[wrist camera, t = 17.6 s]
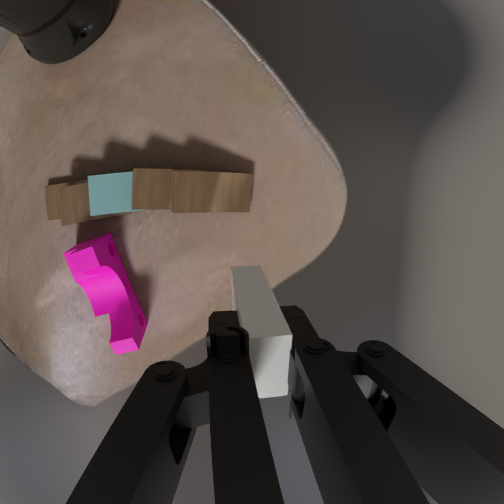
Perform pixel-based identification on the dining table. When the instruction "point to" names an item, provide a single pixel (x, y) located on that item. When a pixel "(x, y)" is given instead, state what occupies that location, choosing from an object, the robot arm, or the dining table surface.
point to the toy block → (108, 290)
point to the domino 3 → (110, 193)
